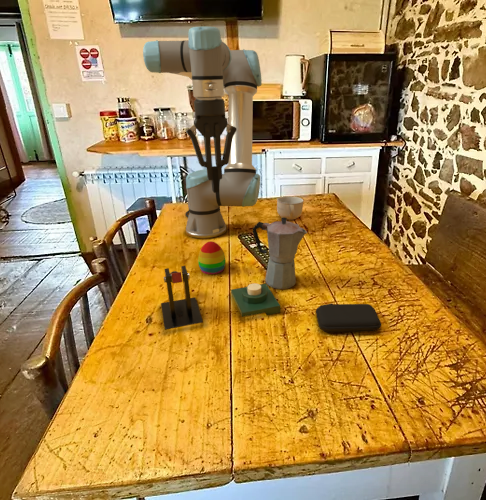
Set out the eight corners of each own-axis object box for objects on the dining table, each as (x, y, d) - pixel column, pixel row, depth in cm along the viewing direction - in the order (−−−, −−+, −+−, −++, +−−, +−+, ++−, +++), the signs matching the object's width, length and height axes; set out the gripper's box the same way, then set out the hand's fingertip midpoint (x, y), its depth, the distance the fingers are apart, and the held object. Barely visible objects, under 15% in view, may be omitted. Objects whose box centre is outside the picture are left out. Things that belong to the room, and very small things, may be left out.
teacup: (278, 212, 170) (278, 194, 167) (303, 213, 169) (304, 195, 166) (274, 224, 158) (274, 205, 154) (301, 225, 156) (302, 205, 153)
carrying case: (371, 308, 101) (314, 310, 101) (372, 298, 100) (314, 299, 100) (382, 334, 92) (319, 335, 92) (384, 323, 90) (319, 324, 90)
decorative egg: (231, 272, 121) (229, 242, 116) (208, 281, 116) (205, 250, 112) (217, 263, 126) (215, 234, 122) (194, 271, 122) (191, 241, 118)
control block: (231, 296, 108) (230, 283, 106) (266, 290, 111) (265, 277, 109) (242, 320, 98) (241, 306, 96) (280, 312, 100) (280, 299, 99)
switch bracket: (161, 306, 104) (154, 263, 98) (195, 300, 106) (191, 257, 101) (165, 333, 93) (158, 286, 88) (203, 325, 96) (198, 279, 90)
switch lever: (169, 283, 106) (167, 272, 106) (181, 281, 107) (179, 270, 107) (171, 285, 93) (169, 272, 93) (184, 283, 94) (182, 270, 94)
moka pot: (303, 293, 109) (305, 225, 101) (249, 288, 112) (246, 221, 104) (307, 276, 118) (309, 213, 109) (257, 272, 120) (255, 210, 112)
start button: (246, 290, 104) (245, 284, 103) (259, 288, 105) (258, 282, 104) (249, 297, 101) (249, 291, 100) (263, 294, 102) (263, 288, 101)
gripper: (184, 100, 92) (193, 197, 102) (238, 98, 96) (242, 192, 106) (180, 98, 99) (189, 190, 109) (231, 96, 103) (235, 185, 112)
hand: (215, 191), depth 107 cm, fingers closed
